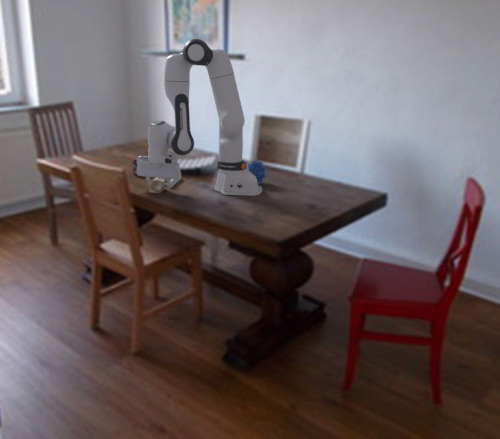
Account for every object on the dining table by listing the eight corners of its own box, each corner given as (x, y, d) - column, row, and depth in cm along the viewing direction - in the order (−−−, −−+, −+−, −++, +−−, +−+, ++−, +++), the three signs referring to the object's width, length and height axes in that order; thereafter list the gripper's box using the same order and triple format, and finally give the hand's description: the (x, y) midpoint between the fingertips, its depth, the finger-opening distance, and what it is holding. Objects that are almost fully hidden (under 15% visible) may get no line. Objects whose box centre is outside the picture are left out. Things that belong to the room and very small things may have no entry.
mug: (130, 173, 280) (130, 160, 277) (146, 170, 286) (146, 157, 284) (138, 176, 275) (137, 163, 273) (154, 173, 282) (154, 160, 280)
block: (164, 189, 258) (164, 179, 257) (160, 193, 252) (159, 184, 250) (154, 188, 259) (154, 178, 257) (149, 192, 253) (149, 183, 251)
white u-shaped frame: (181, 178, 275) (181, 173, 274) (170, 187, 260) (170, 181, 259) (164, 177, 276) (164, 171, 275) (153, 186, 261) (153, 180, 260)
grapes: (251, 187, 265) (252, 163, 261) (243, 184, 270) (244, 160, 266) (270, 184, 272) (271, 160, 268) (261, 181, 277) (263, 157, 273)
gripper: (133, 156, 250) (134, 186, 255) (177, 160, 246) (177, 190, 251) (139, 153, 256) (139, 182, 260) (181, 157, 252) (181, 186, 257)
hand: (158, 186), depth 256 cm, fingers open, 6 cm apart
